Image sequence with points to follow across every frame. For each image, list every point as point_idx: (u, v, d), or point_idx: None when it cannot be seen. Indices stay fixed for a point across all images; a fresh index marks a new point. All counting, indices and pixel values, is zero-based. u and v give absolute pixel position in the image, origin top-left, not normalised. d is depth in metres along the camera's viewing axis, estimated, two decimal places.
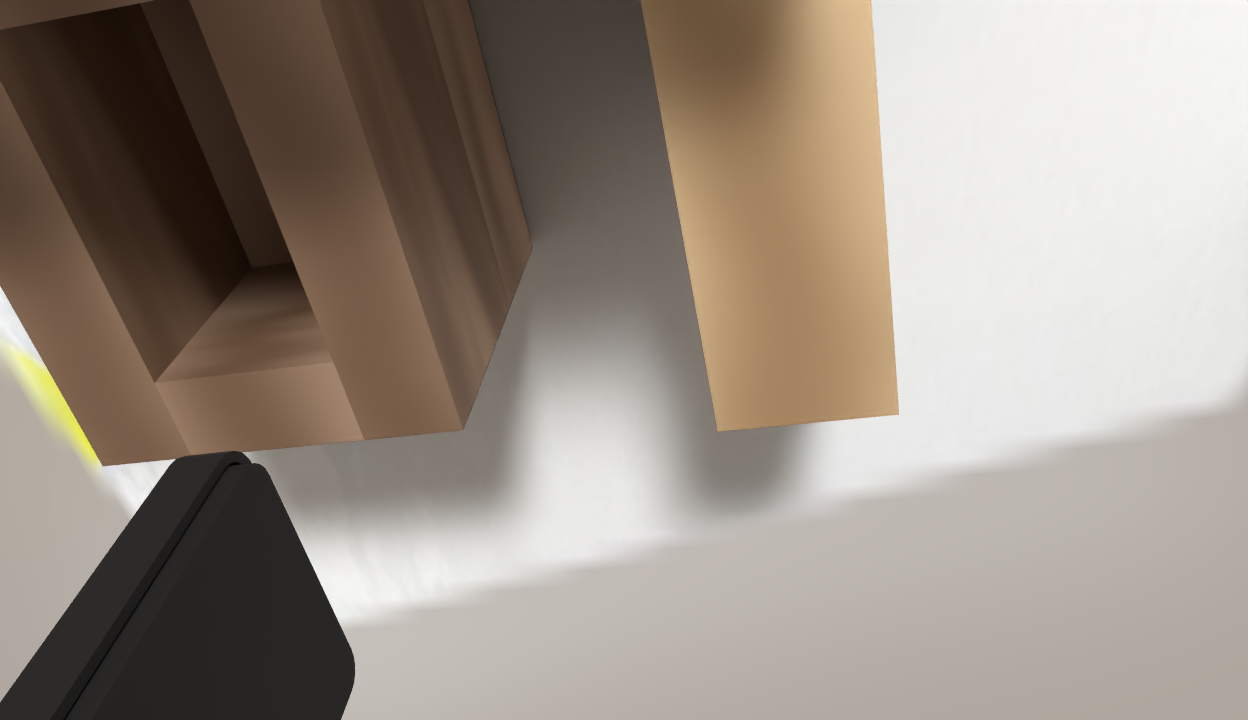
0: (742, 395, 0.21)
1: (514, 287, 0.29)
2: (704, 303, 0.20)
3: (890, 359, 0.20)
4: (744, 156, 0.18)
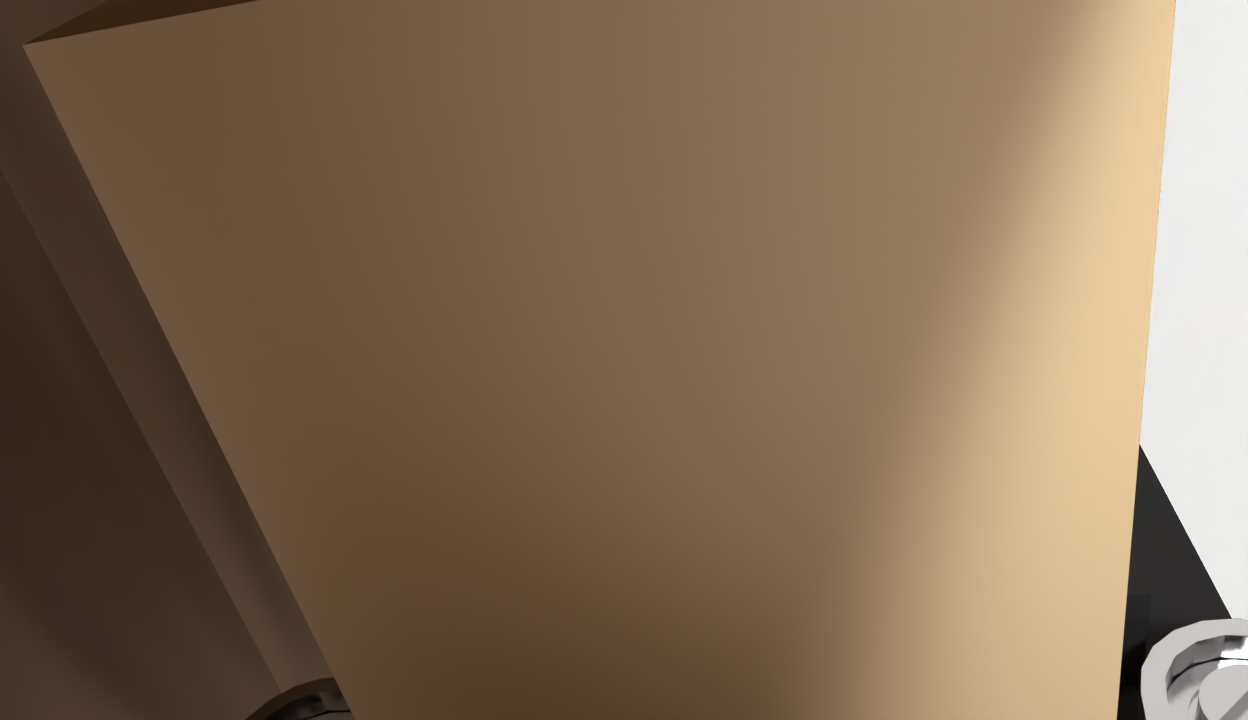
0: None
1: None
2: None
3: None
4: None
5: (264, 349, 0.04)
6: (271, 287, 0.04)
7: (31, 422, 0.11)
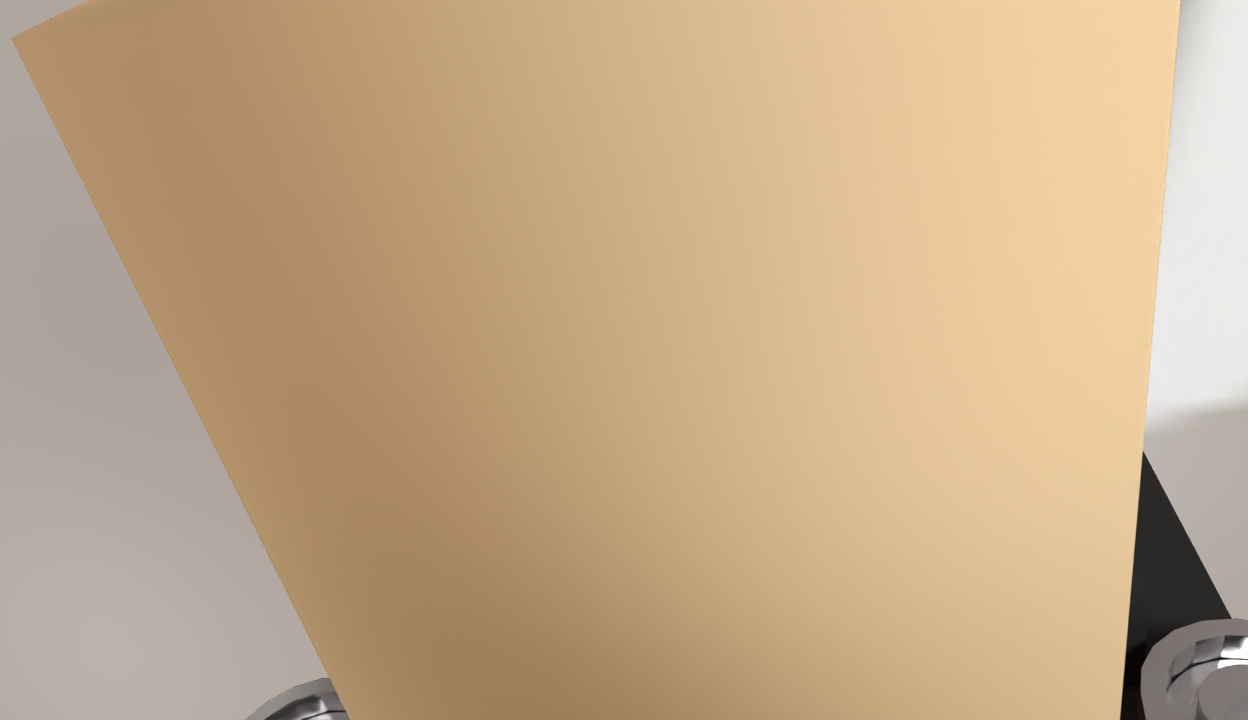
0: None
1: None
2: None
3: None
4: None
5: (254, 349, 0.04)
6: (264, 283, 0.04)
7: None
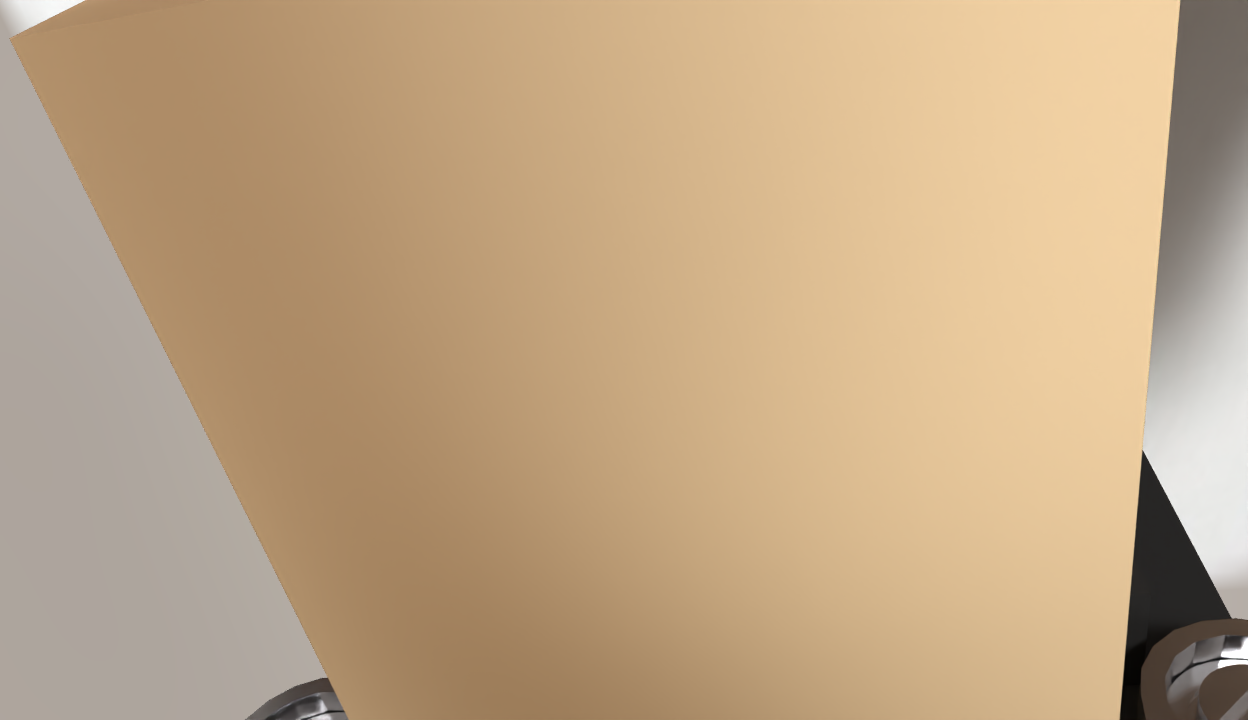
0: None
1: None
2: None
3: None
4: None
5: (253, 349, 0.04)
6: (263, 286, 0.04)
7: None
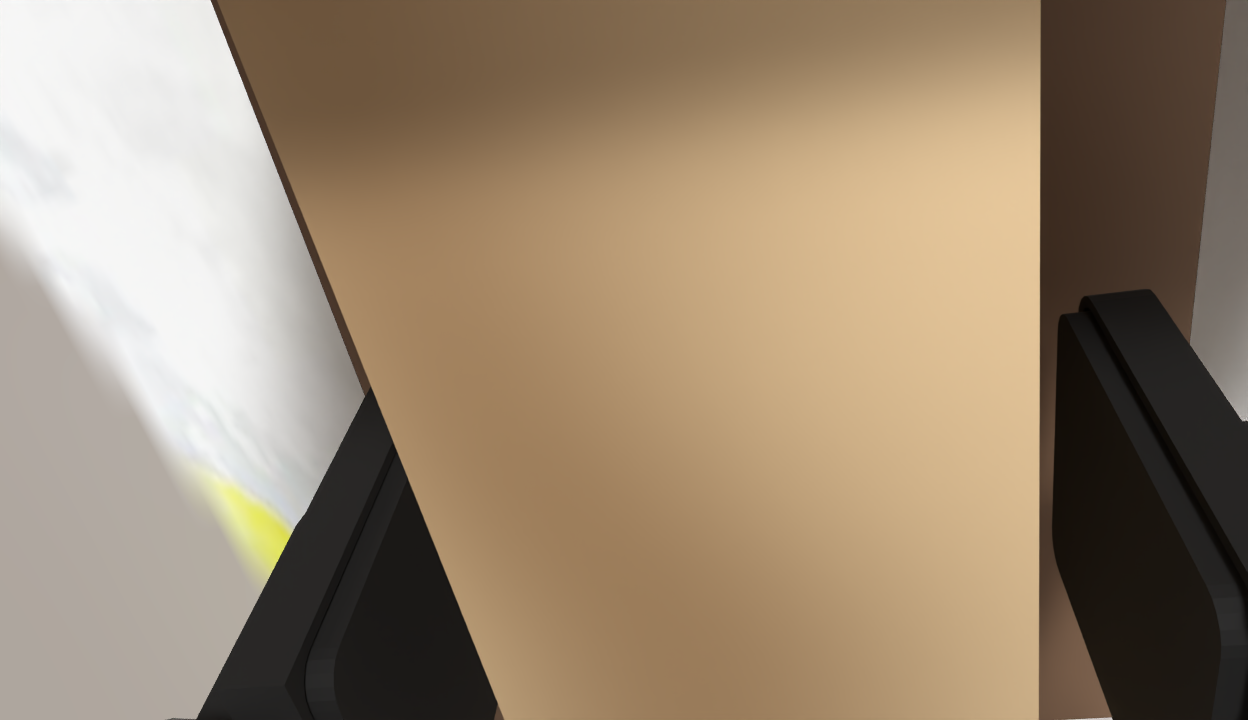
0: None
1: None
2: None
3: None
4: None
5: (365, 196, 0.05)
6: (373, 144, 0.05)
7: None
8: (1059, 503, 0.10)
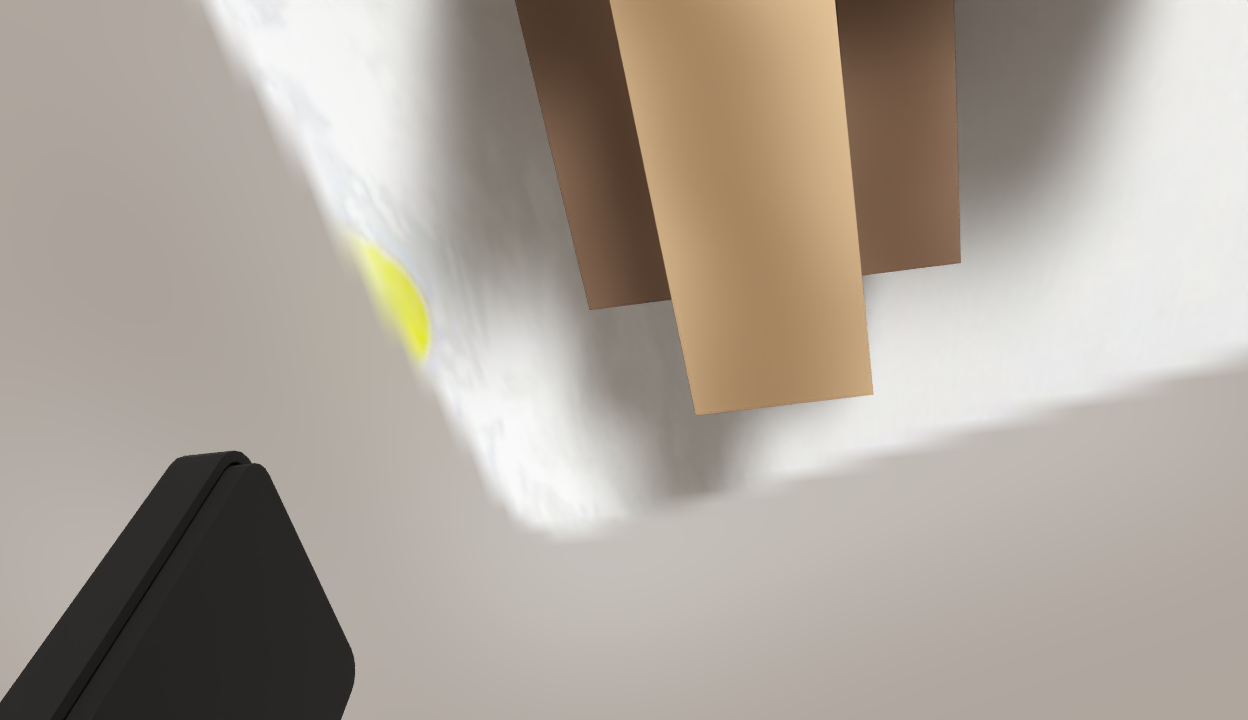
0: (718, 378, 0.21)
1: None
2: (678, 288, 0.20)
3: (863, 340, 0.20)
4: (715, 142, 0.18)
5: None
6: None
7: None
8: None
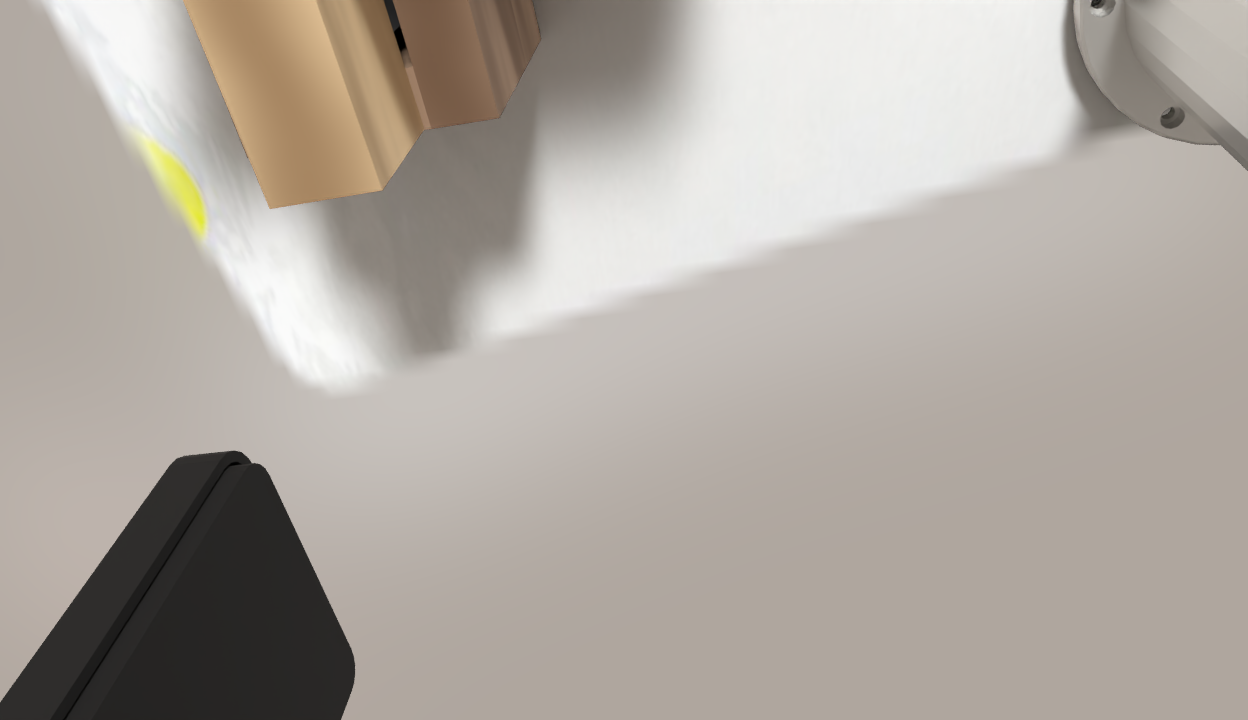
0: (277, 179, 0.31)
1: (529, 56, 0.40)
2: (235, 111, 0.30)
3: (364, 148, 0.30)
4: (233, 5, 0.28)
5: None
6: None
7: None
8: None
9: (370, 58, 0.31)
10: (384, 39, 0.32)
